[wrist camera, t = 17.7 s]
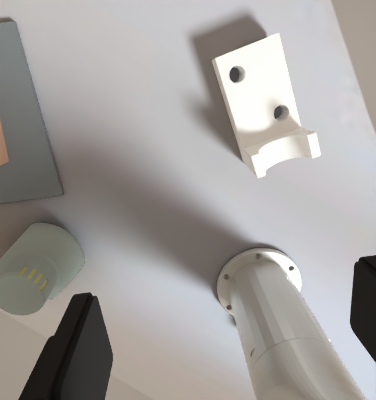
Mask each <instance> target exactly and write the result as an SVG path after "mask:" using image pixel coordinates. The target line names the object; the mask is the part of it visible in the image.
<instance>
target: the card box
mask: <svg viewBox="0 0 376 400" xmlns="http://www.w3.org/2000/svg"><path fill="white" fill-rule="evenodd" d="M7 162H9V159H8V154H7V149H6V144H5V139H4V135H3V130H2V125H1V120H0V166H1V165H3V164H5V163H7Z"/></svg>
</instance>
